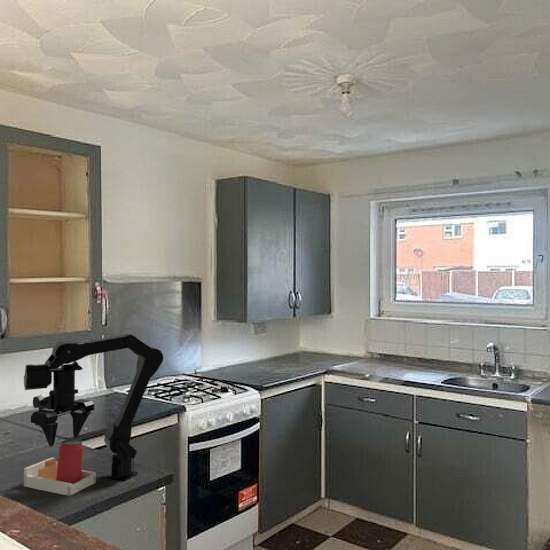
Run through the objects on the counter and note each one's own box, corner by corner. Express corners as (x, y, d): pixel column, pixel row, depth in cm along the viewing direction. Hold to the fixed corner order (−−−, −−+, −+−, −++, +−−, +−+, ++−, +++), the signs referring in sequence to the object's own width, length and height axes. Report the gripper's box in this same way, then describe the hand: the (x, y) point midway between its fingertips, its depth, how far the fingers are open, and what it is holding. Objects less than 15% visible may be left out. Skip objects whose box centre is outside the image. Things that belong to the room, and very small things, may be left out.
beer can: (84, 482, 162) (87, 440, 163) (74, 489, 156) (78, 445, 157) (61, 480, 163) (65, 438, 164) (51, 487, 156) (55, 443, 157)
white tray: (51, 474, 168) (52, 457, 168) (95, 482, 162) (96, 465, 162) (23, 486, 158) (24, 468, 158) (69, 495, 152) (69, 477, 152)
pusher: (58, 477, 165) (59, 455, 165) (61, 478, 165) (61, 455, 165) (38, 486, 158) (38, 463, 158) (40, 487, 158) (41, 464, 158)
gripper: (66, 378, 171) (66, 429, 171) (16, 390, 154) (15, 447, 154) (95, 381, 166) (95, 434, 167) (46, 394, 149) (46, 453, 149)
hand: (63, 441), depth 159 cm, fingers open, 9 cm apart
